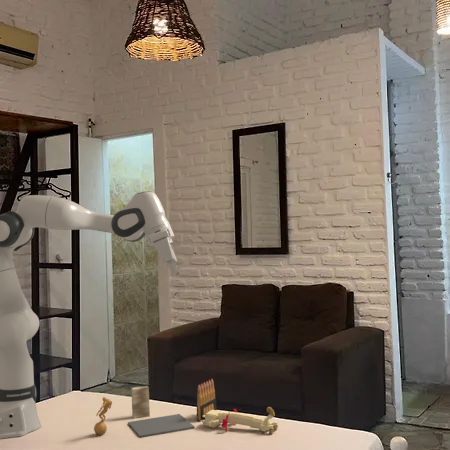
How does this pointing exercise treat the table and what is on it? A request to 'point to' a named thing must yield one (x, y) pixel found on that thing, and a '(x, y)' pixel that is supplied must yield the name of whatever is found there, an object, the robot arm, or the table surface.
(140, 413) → the pale green streaked tile
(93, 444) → the table surface
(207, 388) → the ammunition clip
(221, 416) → the cat figure
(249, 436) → the table surface
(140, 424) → the rubber mat
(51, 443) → the table surface
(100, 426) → the figurine
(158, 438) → the table surface
